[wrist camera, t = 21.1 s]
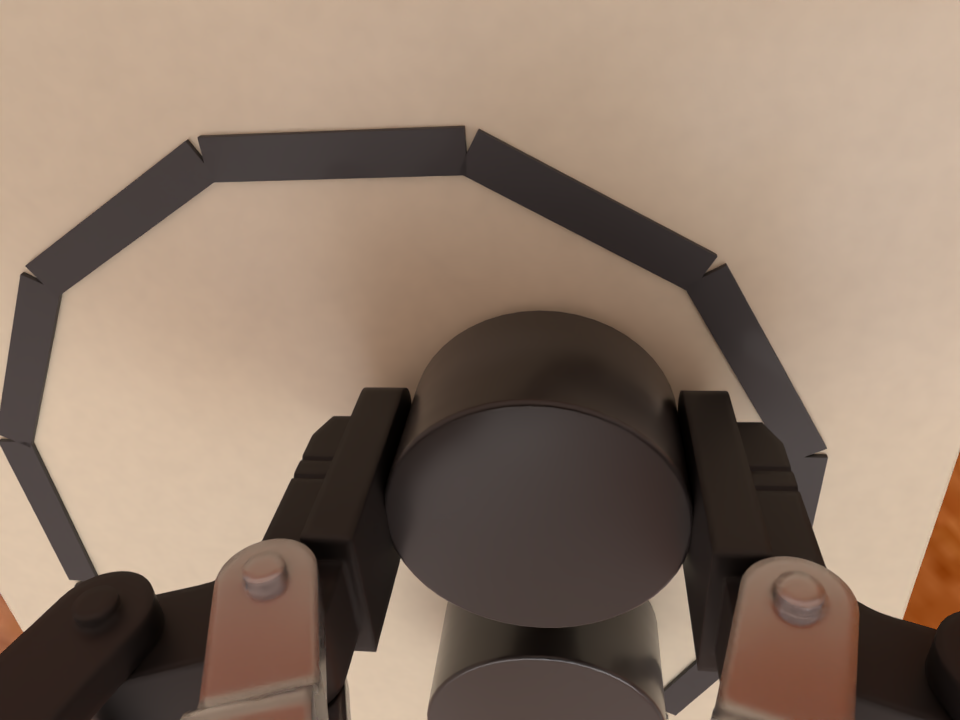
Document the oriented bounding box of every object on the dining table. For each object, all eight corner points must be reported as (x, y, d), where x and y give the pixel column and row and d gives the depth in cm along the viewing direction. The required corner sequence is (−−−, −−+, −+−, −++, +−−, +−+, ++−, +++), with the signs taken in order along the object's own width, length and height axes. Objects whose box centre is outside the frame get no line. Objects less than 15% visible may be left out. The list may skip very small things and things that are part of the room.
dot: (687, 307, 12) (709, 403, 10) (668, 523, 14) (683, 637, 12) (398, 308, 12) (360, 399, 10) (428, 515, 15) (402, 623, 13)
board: (1098, -96, 10) (1155, -92, 9) (823, 785, 20) (834, 829, 19) (-285, -1, 12) (-356, 9, 11) (118, 734, 23) (98, 770, 22)
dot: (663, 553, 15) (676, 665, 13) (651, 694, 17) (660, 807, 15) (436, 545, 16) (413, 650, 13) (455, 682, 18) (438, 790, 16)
